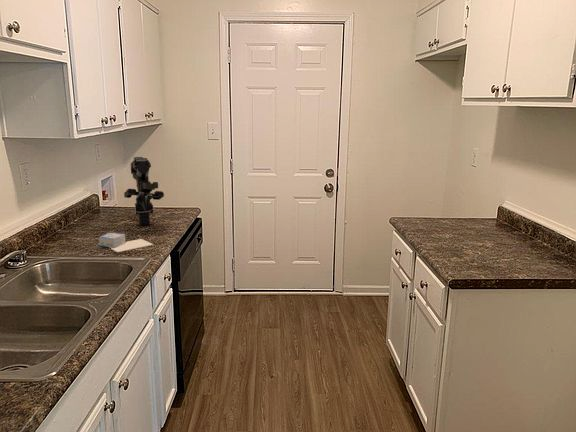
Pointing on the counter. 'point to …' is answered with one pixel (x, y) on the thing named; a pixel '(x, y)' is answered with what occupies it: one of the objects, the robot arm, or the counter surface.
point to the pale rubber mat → (131, 245)
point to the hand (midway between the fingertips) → (146, 210)
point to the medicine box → (112, 240)
